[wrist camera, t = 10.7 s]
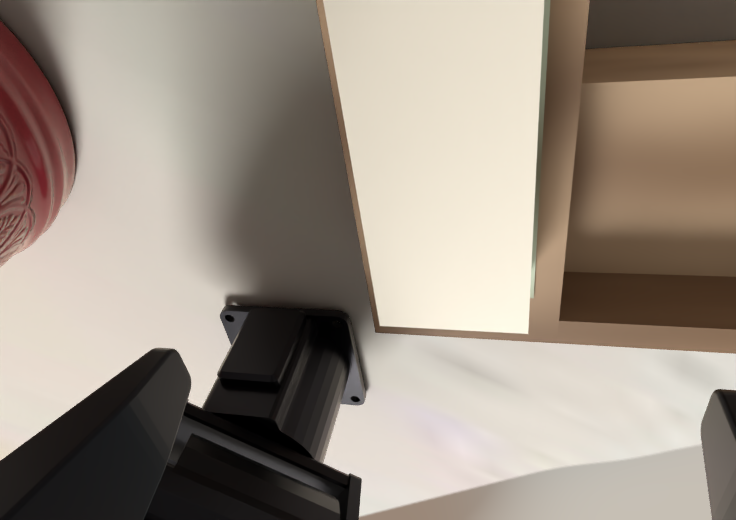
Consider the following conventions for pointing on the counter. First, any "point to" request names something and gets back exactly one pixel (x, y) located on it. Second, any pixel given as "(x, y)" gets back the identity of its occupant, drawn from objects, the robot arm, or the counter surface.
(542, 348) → the counter surface
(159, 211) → the counter surface
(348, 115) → the cream slat
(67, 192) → the canister
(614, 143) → the walnut pocket board
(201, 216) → the counter surface
